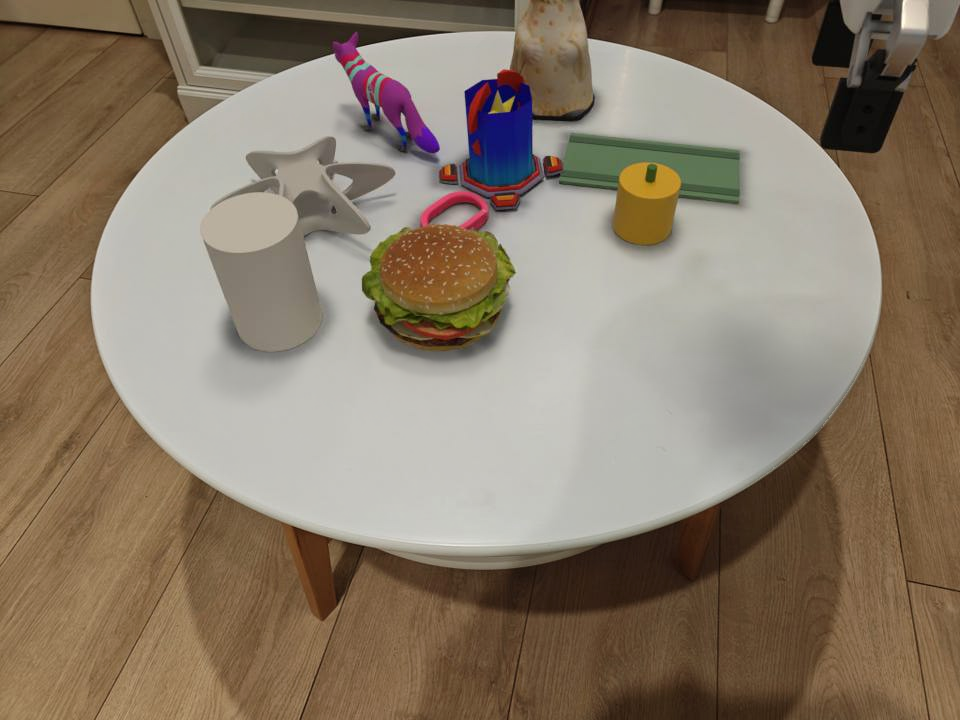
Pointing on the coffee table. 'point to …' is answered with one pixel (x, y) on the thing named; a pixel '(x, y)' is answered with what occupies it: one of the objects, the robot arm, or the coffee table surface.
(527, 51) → the figurine
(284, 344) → the beige solid cylinder
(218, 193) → the coffee table surface
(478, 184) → the fantasy tower
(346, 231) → the sculpture
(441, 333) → the food
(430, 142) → the magenta toy fox
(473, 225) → the fitness band
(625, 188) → the yellow stemmed cylinder
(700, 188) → the green grooved tray
